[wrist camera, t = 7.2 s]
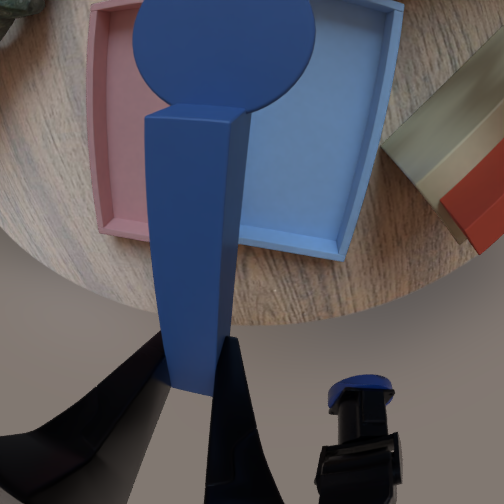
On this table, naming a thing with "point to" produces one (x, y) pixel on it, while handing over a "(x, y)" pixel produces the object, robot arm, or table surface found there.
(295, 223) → the blue tray
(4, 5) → the bracelet
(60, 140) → the table surface
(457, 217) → the red spoon
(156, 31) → the blue paddle
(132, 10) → the rose tray
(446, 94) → the wooden rectangular block
